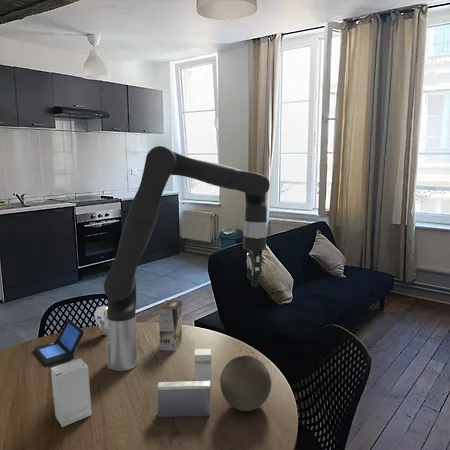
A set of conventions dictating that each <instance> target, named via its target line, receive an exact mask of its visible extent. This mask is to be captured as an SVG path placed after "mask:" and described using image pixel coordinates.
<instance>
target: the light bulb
mask: <svg viewBox="0 0 450 450" xmlns="http://www.w3.org/2000/svg"><path fill="white" fill-rule="evenodd" d="M107 307H108V305H102V306H101V305H100V306H99V307H98V308H97V309H95V312H94V320H95V321H96V323H97V324H98V327H99V334H100V335H102V336H103V335H104V337H105V335H106V336H108V325H107Z"/></svg>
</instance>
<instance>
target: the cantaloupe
mask: <svg viewBox="0 0 450 450" xmlns="http://www.w3.org/2000/svg"><path fill="white" fill-rule="evenodd" d="M220 373H221V374H220V376H219V383H220V384H219V385H220V389H221V394H222V396H223V398H224V400H225V401H226V402H227V404H229V406H230V407H231V408H234V409H235V410H239V411H241V412H250V411H254V410H256V409H258V408H260V407H262V406H263V405H264V404H265V402H267V399H268V398H269V396H270V393H271V391H272V379H271V374H270V373H269V370H268V368H267V367H266V365H265V364H264V362H262V361H261V360H259V359H258V358H256V357H254V356H252V355H240V356H237V357H236V356H235V357H234V358H232V359H231V360H229V361H228V362H226V364H225V366H224V367H223V369H222V370H221V372H220Z"/></svg>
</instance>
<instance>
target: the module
mask: <svg viewBox="0 0 450 450" xmlns="http://www.w3.org/2000/svg"><path fill="white" fill-rule="evenodd" d="M194 381H210V386H212V349H211V348H194Z"/></svg>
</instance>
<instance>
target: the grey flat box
mask: <svg viewBox="0 0 450 450" xmlns="http://www.w3.org/2000/svg"><path fill="white" fill-rule="evenodd" d="M157 410H158V414H157V415H158V418H170V417H171V418H173V417H174V418H176V417H210V416H211V385H210V381H195V380H193V381H191V380H190V381H188V380H187V381H158V383H157Z"/></svg>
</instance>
